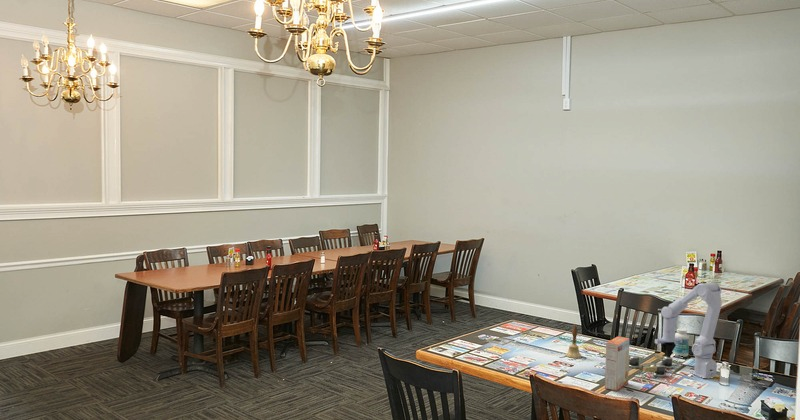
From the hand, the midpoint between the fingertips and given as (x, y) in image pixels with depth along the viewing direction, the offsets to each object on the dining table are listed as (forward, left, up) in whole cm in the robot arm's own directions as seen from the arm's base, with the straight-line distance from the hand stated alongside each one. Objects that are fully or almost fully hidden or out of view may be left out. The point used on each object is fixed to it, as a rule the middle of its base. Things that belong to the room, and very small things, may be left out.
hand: (667, 357), depth 320 cm
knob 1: (+1, +23, -2) cm, 23 cm away
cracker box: (-24, +45, -3) cm, 52 cm away
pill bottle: (+11, -17, -3) cm, 20 cm away
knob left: (-16, +20, -2) cm, 25 cm away
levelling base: (-9, +13, -3) cm, 15 cm away
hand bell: (+21, +40, -3) cm, 46 cm away
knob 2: (-3, +5, -2) cm, 6 cm away
